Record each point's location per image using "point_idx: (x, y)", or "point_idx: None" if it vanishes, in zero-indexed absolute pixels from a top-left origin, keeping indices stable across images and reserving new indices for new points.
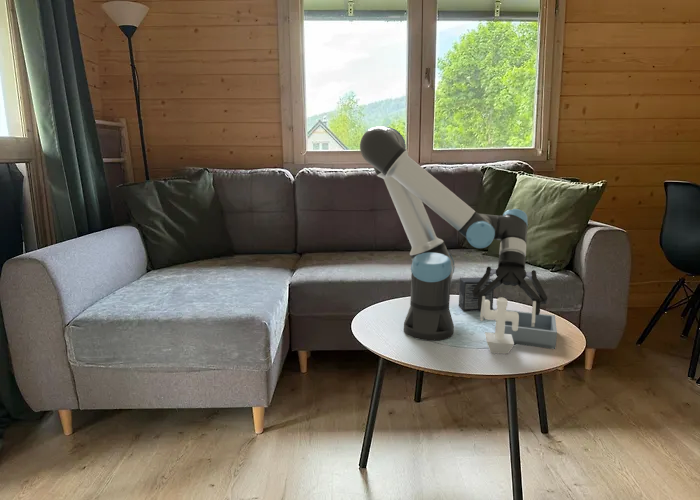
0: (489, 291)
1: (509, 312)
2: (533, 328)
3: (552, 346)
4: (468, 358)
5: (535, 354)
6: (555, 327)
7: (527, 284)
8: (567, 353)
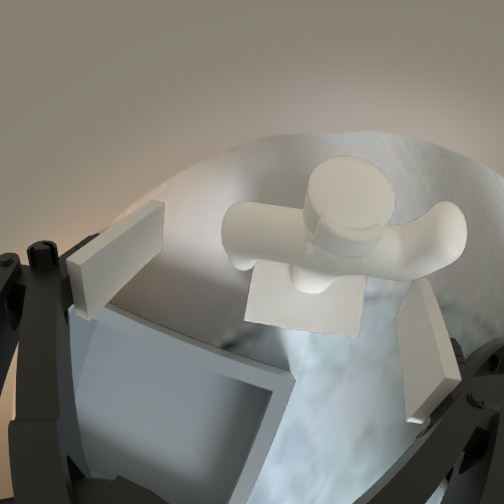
0: (402, 459)
1: (283, 212)
2: (134, 337)
3: None
4: (411, 212)
5: (179, 254)
6: None
7: (18, 391)
8: None
